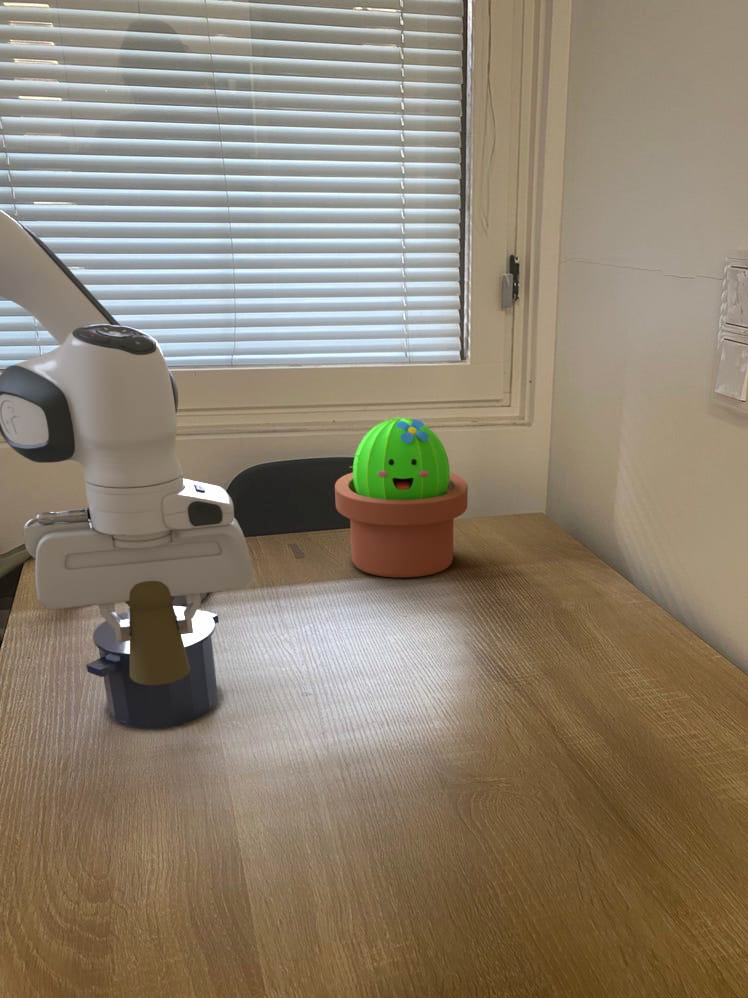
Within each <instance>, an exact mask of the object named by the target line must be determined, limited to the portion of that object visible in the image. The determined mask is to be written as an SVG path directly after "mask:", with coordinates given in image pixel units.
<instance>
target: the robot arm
mask: <svg viewBox="0 0 748 998" xmlns="http://www.w3.org/2000/svg"><path fill="white" fill-rule="evenodd" d="M0 297H1V298H4V299H6V300H8V301H11V302H13V303H14V304H16V305H18V306H19V307H21V308H22V309H24V310H26V311H27V312H28V313H30V314H31V316H33V317H34V318H35V319H36V320H37V321H38V323H40V325H41V326H42V327H43V328H44V329H45V330H46V331H47V332H48V333H49V334H50V336H51V337H53V339H55V341H56V342H57V343H58V344H59V346H57V347H56V348H54V349H53V350H51V351H49V352H46V353H44V354H41V355H39V356H35V357H32V358H29V359H27V360H23V361H21V362H18V363H15V364H13V365H9V366H6V368H5V369H3V371H2V372H1V373H0V434H1V436H2V438H3V440H4V441H5V443H7V444H8V446H10V448H12V450H13V451H14V452H17V453H18V454H19V455H20V456H22V457H23V458H25V459H27V460H30V462H34V463H41V464H43V463H44V464H45V463H47V464H48V463H49V464H50V463H51V464H55V463H56V464H57V463H61V462H67V461H74V462H77V463H79V464H80V465H81V467H82V469H83V481H84V482H83V483H84V487H85V494H86V500H87V508H80V509H69V510H64V511H55V512H53V511H43V512H39V513H37V515H36V516H35V517H33V518H31V519H29V520H28V521H26V523H25V524H24V526H23V529H22V537H23V544H24V548H25V551H26V552H27V553H28V555H29V556H31V558H33V559H35V565H34V566H35V568H34V570H35V571H34V572H35V587H36V595H37V601H38V602H39V604H41V605H42V606H43V607H45V608H46V609H47V610H51V611H52V610H61V609H62V610H63V609H69V608H71V609H72V608H78V607H81V608H82V607H88V606H97V605H98V608H99V613H100V615H101V617H103V619H104V620H105V621H106V620H107V622H108V623H109V624H110V625H111V626H112V627H113V628H115V633H116V639H117V642H124V641H131V639H132V636H131V634H130V633H131V628H130V620H129V619H127V620H121V619H120V618H119V617H118V616H117V615H118V614H117V613H116V605H115V604H116V603H125V602H126V601H129V595H130V591H131V589H132V588H133V587H134V586H135V585H136V584H138V583H141V582H146V581H159V582H162V583H163V584H165V585H166V586H167V587H168V589H169V591H170V594H171V596H180V595H185V597H186V601H187V603H188V604H187V605H185V607H186V608H185V610H184V613H178V614H176V619H177V626H178V627H179V628H178V632H179V634H180V635H181V634H189V633H193V626H192V618H193V617H194V615H195V613H196V612H197V610H199V608H200V606H201V604H202V600H201V597H200V593H207V592H208V593H215V592H225V591H234V590H242V589H243V590H244V589H247V588H248V587H249V585H250V584H251V582H252V581H253V580H254V573H253V565H252V560H251V556H250V551H249V547H248V543H247V541H246V538H245V534H244V533H243V529H242V528H241V526H240V524H239V522H238V520H237V518H235V506H234V502H233V499H232V497H231V496H230V494H229V493H228V492H227V491H226V490H225V488H223V487H222V486H218V485H216V484H215V485H214V484H209V483H205V482H201V481H195V480H191V479H187V478H184V474H183V473H184V472H183V468H182V465H181V464H182V463H181V461H180V459H179V458H178V454H177V451H176V438H177V432H178V421H177V413H178V408H179V390H178V386H177V383H176V380H175V378H174V376H173V373H172V372H171V370H170V369H169V368H170V367H168V365H167V361H166V359H165V356H164V353H163V351H162V349H161V347H160V345H159V343H158V341H157V340H156V338H154V337H152V336H151V335H150V334H148V333H146V332H144V331H142V330H140V329H137V328H133V327H130V326H126V325H121V324H120V322H118V320H117V319H116V318H114V316H113V315H112V314H111V313H110V312H109V311H108V310H107V309H106V308H105V306H104V305H103V304H102V303H101V302H100V301H99V300H98V299H97V297H95V295H94V294H93V293H92V292H90V290H89V289H88V288H87V287H86V286H85V285H84V283H83V282H82V281H80V279H79V278H78V277H77V276H76V275H75V273H73V271H72V270H71V269H70V268H69V267H68V266H67V265H66V264H65V263H64V262H63V261H62V260H61V259H60V258H59V256H57V255H56V253H55V252H54V251H53V250H52V249H51V248H50V247H49V246H48V245H47V244H46V243H45V242H44V241H43V240H42V239H41V238H40V237H39V236H37V235H36V234H35V233H34V232H32V231H31V230H30V229H29V228H28V227H26V226H25V225H23V224H22V223H20V222H19V221H18V220H16V219H14V218H12V217H11V216H10V215H8V214H7V213H6V212H4V211H3V210H2V209H0ZM208 593H207V594H208Z"/></svg>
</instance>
